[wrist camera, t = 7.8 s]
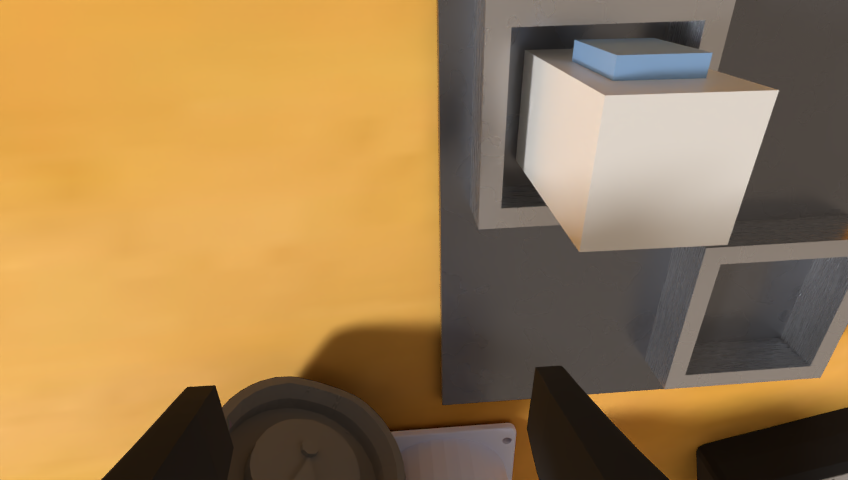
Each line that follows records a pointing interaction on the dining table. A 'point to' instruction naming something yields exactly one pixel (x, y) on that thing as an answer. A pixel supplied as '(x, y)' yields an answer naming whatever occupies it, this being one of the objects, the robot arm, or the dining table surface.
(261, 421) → the bluetooth speaker
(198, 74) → the dining table surface
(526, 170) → the plug
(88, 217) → the dining table surface
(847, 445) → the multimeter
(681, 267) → the panel
